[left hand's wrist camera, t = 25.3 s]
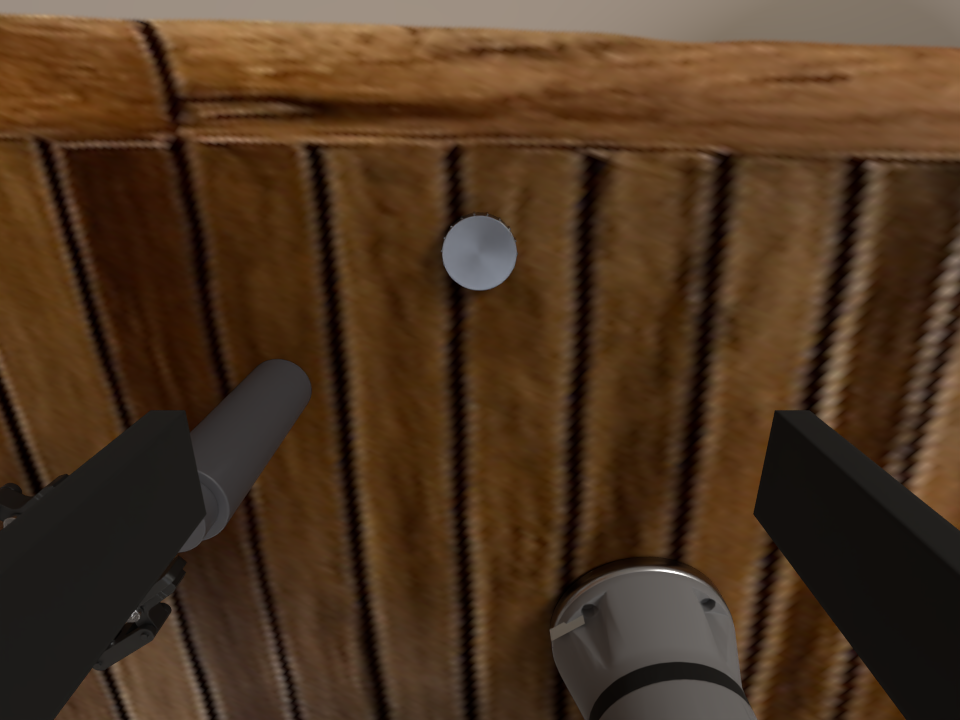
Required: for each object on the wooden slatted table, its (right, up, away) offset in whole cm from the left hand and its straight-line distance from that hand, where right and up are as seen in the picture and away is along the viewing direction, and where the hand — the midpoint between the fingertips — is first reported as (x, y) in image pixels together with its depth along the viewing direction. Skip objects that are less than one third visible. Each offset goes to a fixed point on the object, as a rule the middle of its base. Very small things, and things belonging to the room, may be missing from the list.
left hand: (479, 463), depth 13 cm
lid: (0, +9, +23) cm, 25 cm away
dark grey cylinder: (-14, 0, +28) cm, 32 cm away
